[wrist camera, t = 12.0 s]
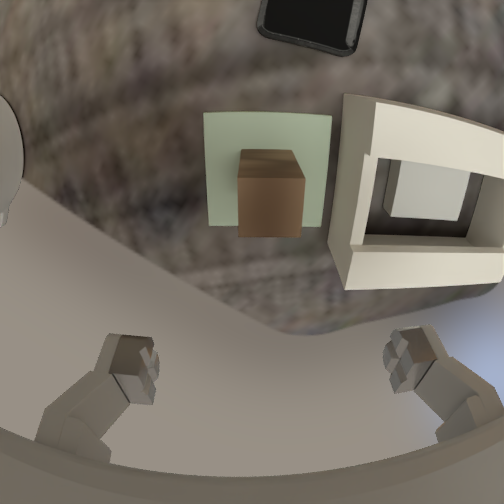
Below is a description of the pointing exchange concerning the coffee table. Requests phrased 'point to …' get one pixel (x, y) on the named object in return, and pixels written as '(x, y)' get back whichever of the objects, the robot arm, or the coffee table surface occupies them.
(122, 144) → the coffee table surface
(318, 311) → the coffee table surface
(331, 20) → the phone
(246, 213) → the walnut block
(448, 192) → the slotted box
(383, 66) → the coffee table surface
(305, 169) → the sage mat
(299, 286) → the coffee table surface
